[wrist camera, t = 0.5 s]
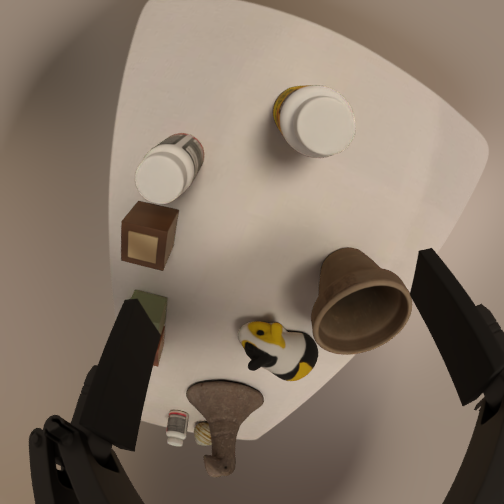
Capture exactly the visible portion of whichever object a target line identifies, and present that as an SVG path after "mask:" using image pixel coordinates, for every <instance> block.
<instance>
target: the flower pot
mask: <svg viewBox="0 0 504 504" xmlns="http://www.w3.org/2000/svg"><path fill="white" fill-rule="evenodd" d="M411 311H412V299H411V296H410V293H409V291H408V289H407V288H406V286H405V285H404V283H403V282H402V280H401V279H400V278H399V277H398V276H397V275H396V274H394V273H393V272H391V271H389V270H386V269H381V268H380V267H379V266H378V265H377V264H376V263H375V262H374V261H373V260H372V259H370V258H369V257H368V256H367V255H365V254H364V253H363V252H361V251H360V250H358V249H354V248H343V249H340V250H337V251H335V252H333V253H332V254H331V255H329V256H328V257H327V258H326V260H325V261H324V263H323V265H322V267H321V273H320V281H319V294H318V298H317V300H316V302H315V304H314V306H313V309H312V314H311V321H312V329H313V336H314V339H315V341H316V342H317V344H318V345H319V346H320V347H321V348H323V349H325V350H327V351H329V352H332V353H336V354H345V355H348V354H358V353H363V352H366V351H370V350H372V349H375V348H377V347H379V346H381V345H383V344H385V343H387V342H388V341H390V340H391V339H392V338H393V337H394V336H396V335H397V334H398V333H399V332H400V331H401V330H402V329H403V327H404V326H405V325H406V323H407V321H408V319H409V317H410V314H411Z"/></svg>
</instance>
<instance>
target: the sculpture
mask: <svg viewBox="0 0 504 504" xmlns="http://www.w3.org/2000/svg"><path fill="white" fill-rule="evenodd" d="M186 396H187V398H188V400H189V402H190V403H191V404H192V405H193V406H194V407H195V408H196V409H197V410H198V411H199V412H200V413H201V414H202V415H203V416H204V417H205V419H206V420H207V422H208V424H209V429H210V434H211V442H212V456H211V455H204V463H205V468H206V471H207V473H208V474H209V475H210V476H211V477H216V478H217V477H221V476H228V475H230V474H232V473H233V471H234V470H235V463H236V461H235V442H236V436H237V433H238V430H239V427H240V425H241V424H242V422H243V421H244V420H245V419H246V418H247V417H248V416H249V415H250V414H251V413H252V412H253V411H255V410H256V409H258V408H259V407H260V406H261V405H262V404H263V402H264V399H263V396H262V394H261V393H260V392H259V391H257V390H255V389H253V388H251V387H248V386H246V385H243V384H239V383H234V382H226V381H211V382H210V381H209V382H204V383H202V382H201V383H197V384H195V385H193V386H191V387H190V388H189V389H188V391H187V393H186Z"/></svg>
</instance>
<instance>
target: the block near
mask: <svg viewBox="0 0 504 504" xmlns="http://www.w3.org/2000/svg"><path fill="white" fill-rule="evenodd" d="M178 213H179V210H177V209H173V208H168V207H164V206H159V205H155V204H150V203H146V202H141V201H138V202H137V203H136V204H135V206H134V207H133V208H132V209H131V210H130V212H129V213H128V214H127V215H126V216H125V218H124V219H123V220H122V225H121V260H122V261H126V262H130V263H133V264H137V265H141V266H145V267H149V268H153V269H157V270H161V271H163V270H164V268H165V265H166V263H167V260H168V258H169V256H170V253H171V251H172V248H173V246H174V239H175V232H176V226H177V219H178Z"/></svg>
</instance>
